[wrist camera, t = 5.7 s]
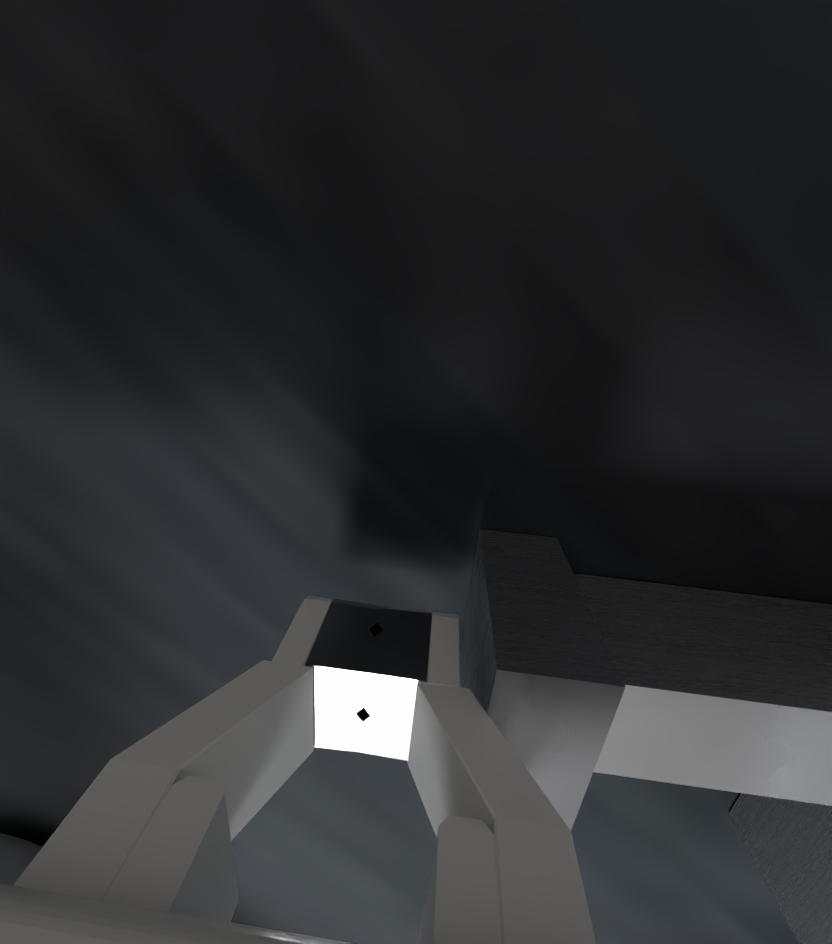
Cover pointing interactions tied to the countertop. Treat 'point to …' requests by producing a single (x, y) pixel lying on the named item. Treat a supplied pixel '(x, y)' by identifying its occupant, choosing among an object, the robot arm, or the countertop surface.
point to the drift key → (646, 678)
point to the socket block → (792, 859)
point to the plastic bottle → (15, 857)
